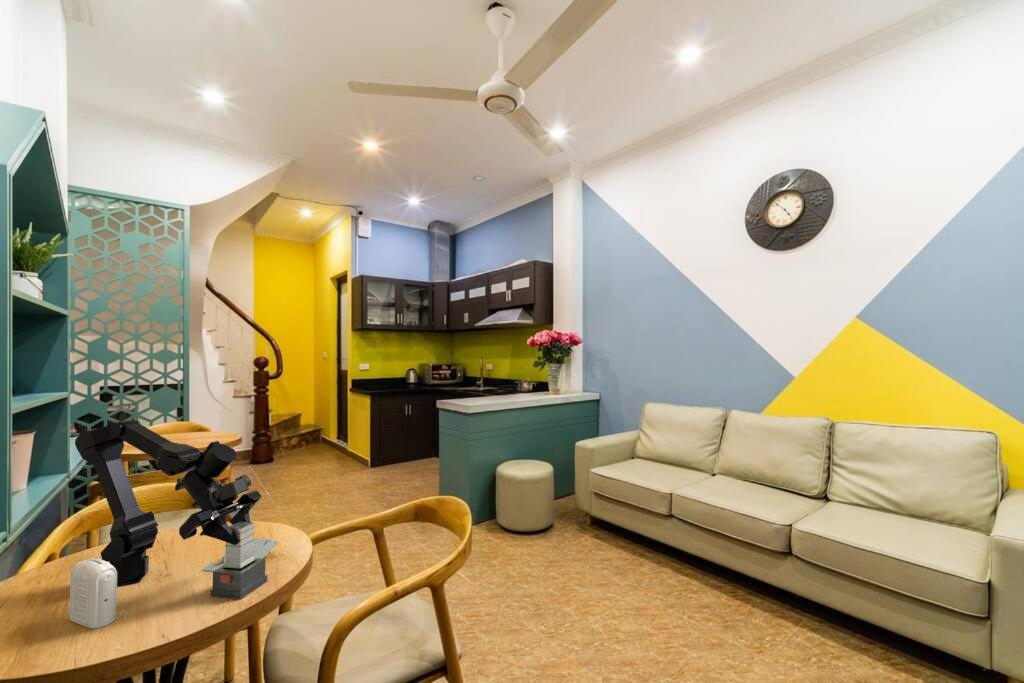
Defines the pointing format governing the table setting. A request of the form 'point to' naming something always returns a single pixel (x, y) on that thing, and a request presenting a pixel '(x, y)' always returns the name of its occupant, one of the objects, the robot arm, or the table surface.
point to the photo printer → (93, 593)
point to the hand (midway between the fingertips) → (244, 539)
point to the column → (241, 546)
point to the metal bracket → (260, 551)
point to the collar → (238, 580)
